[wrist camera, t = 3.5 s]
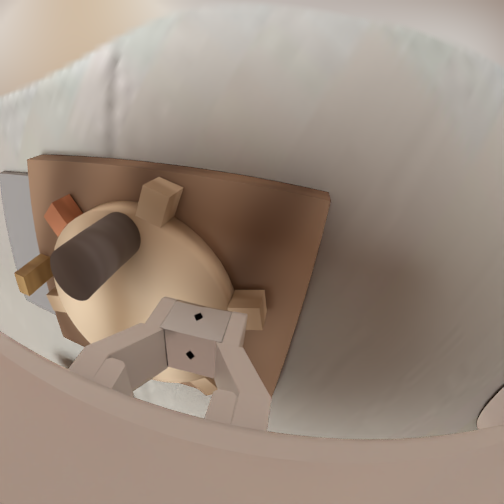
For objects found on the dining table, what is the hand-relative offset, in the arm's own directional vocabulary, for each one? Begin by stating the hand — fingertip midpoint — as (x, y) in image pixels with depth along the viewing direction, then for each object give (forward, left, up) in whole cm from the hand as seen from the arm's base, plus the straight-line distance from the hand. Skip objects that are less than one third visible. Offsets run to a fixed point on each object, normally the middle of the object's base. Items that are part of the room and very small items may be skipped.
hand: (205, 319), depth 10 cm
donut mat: (+19, +4, -7) cm, 20 cm away
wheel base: (+6, +4, -7) cm, 10 cm away
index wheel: (+6, +4, -5) cm, 9 cm away
